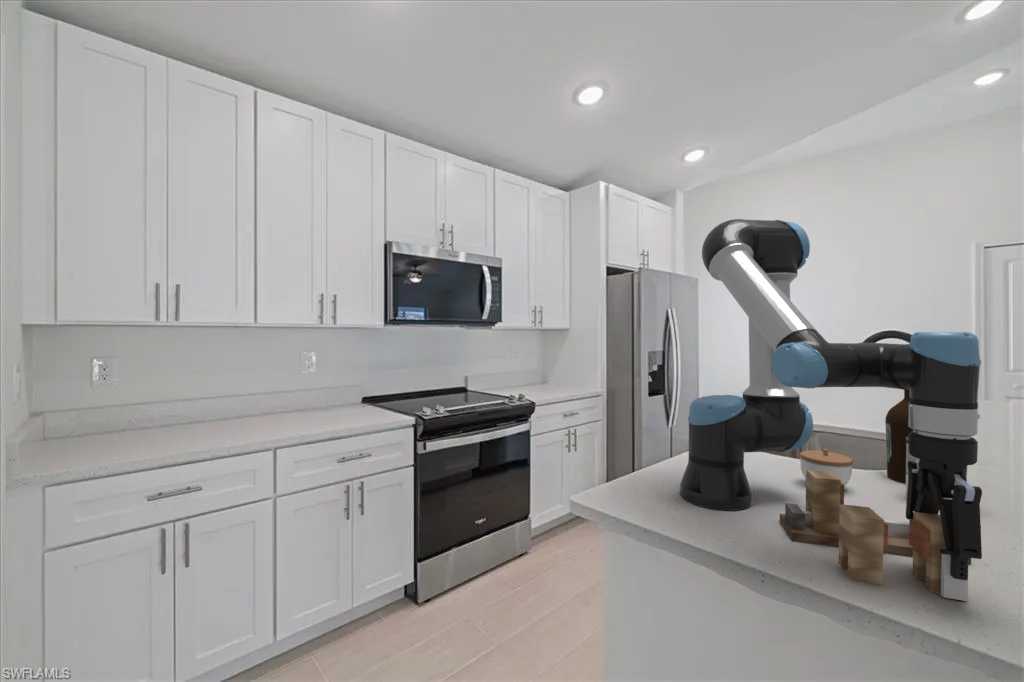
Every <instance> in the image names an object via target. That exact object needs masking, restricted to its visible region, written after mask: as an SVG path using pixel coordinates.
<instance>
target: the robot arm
mask: <svg viewBox="0 0 1024 682" xmlns="http://www.w3.org/2000/svg"><path fill="white" fill-rule="evenodd" d="M810 243H811V242H810V239H809V236H808V234H807V232H806V230H805V228H803V227H802V226H800V225H799V224H798V223H795V222H791V221H785V220H781V219H775V220H769V219H767V220H765V219H763V220H761V219H760V220H759V219H742V218H735V219H730V220H726V221H723V222H721V223H719V224H717V225H716V226H715V227H714V228H713V229H711V230H710V231H709V233H708V234H707V235H706V236H705V239H704V241H703V243H702V248H701V258H702V262H703V265H704V266H705V267H704V268H705V269H706V271H707V272H708V273H709V275H710V276H711V277H712V278H713V279H714V280H716V281H719V282H721V283H723V285H724V286H725V288H726V289H727V290H728V292H729V293H730V294H731V296H732V298H734V299H735V301H736V302H737V303H738V305H739V306H740V308H741V309H742V310H743V312H744V313H745V314H746V315H747V317H748V357H749V358H748V364H749V365H748V367H749V374H748V375H749V386H748V387H747V388H746V389H744V391H743V392H742V396H739V395H732V394H723V395H719V394H713V395H705V396H701V397H698V398H695V399H694V400H693V401H692V402H691V403H690V405H689V411H688V418H687V420H688V460H687V461H688V462H687V466H686V468H685V471H684V472H683V476H682V478H681V481H680V485H679V495H680V496H681V497H682V498H683V499H684V500H685V501H688V502H690V503H691V504H695V505H697V506H700V507H705V508H709V509H714V510H721V511H724V510H725V511H739V510H740V511H741V510H745V509H748V508H750V507H751V506H752V504H753V492H752V490H751V486H750V483H749V480H748V476H747V473H746V471H745V467H744V466H745V465H744V463H745V457H744V456H745V453H765V452H766V453H768V452H769V453H770V452H776V453H785V452H788V451H790V452H791V451H796V450H799V449H801V448H803V446H804V445H806V444H808V442H809V440H810V439H811V437H812V433H813V430H814V419H813V415H812V413H811V412H809V410H810V409H809V407H808V406H807V405H806V404H804V403H803V402H801V401H800V400H801V398H800V397H801V396H800V393H799V392H797V391H796V389H794V388H800V389H815V388H816V389H817V388H888V389H896V390H903V391H904V390H909V398H910V401H909V423H908V426H909V427H910V428H911V429H913V431H911V432H910V433H909V446H908V451H909V454H910V455H911V456H913V457H915V458H918V459H920V460H919V462H918V461H908V473H909V477H908V490H907V499H906V506H905V518H906V520H908V521H909V520H910V519H914V512H919V513H929V514H938V515H940V516H941V522H942V528H943V534H944V540H945V546H946V550H943V549H940V551H941V553H942V560H941V594H940V595H941V597H942V598H945V599H950V600H952V599H953V600H956V601H957V600H959V601H966V602H968V600H969V599H968V595H969V594H968V592H969V591H968V590H969V564H968V560H969V558H971V559H975V560H976V559H977V560H982V557H983V553H982V549H983V548H982V531H981V529H982V528H981V527H982V526H981V506H980V505H981V499H982V495H983V490H982V488H981V487H980V486H976V485H975V486H974V485H970V484H969V483H968V479H967V478H968V477H967V478H966V475H965V470H964V468H965V467H966V466H967V467H968V466H973V465H975V464H977V462H978V448H979V447H978V445H979V444H978V443H979V442H978V441H977V439H976V438H974V436H976V435H978V423H979V422H978V420H979V419H980V418H981V415H980V413H979V411H978V410H979V402H978V398H979V397H978V396H979V393H978V392H979V381H980V371H981V370H980V369H981V364H982V360H981V358H980V346H979V345H980V343H979V338H978V337H977V335H975V334H974V333H972V332H966V331H918V332H914V333H913V334H911V337H910V342H909V343H907V344H906V343H905V344H902V343H888V342H887V343H886V342H885V343H883V342H882V343H880V342H865V341H864V342H855V343H852V342H851V343H848V342H847V343H843V342H839V343H838V342H828V341H827V340H826V339H825V338H824V337H823V336H822V334H821V333H819V331H818V330H817V329H816V328H815V327H814V326H813V325H812V323H811V322H810V321H809V320H808V319H807V318H806V317H805V316H804V315H803V313H802V312H801V311H800V310H799V308H798V307H796V305H795V304H794V303H793V302H792V301H791V283H792V282H793V281H794V280H796V279H797V277H798V270H799V269H801V268H803V267H804V266H805V264H806V262H807V260H806V259H809V256H810V250H811V249H810V248H811V245H810ZM943 498H951V499H952V500H951V499H943Z"/></svg>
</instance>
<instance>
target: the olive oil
mask: <svg viewBox="0 0 1024 682" xmlns="http://www.w3.org/2000/svg"><path fill="white" fill-rule="evenodd" d="M903 393H904V394H903V399H902V400H900V401H899V402H898V403H896V404H895V405H893V406H892V407H891V408H890V409H889V410H888V411H887V413H886V415H885V419H884V420H885V435H886V436H885V442H886V474H887V478H888V479H890V480H892V481H894V482H898V483H901V484H906V437H909V433H910V432H911V431H913V429H911V428H910V427H909V426H908V423H909V401H910V398H909V390H903Z"/></svg>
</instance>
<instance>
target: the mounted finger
mask: <svg viewBox="0 0 1024 682" xmlns="http://www.w3.org/2000/svg"><path fill="white" fill-rule="evenodd" d="M840 504H844V505H845V486H844V484H843V483H841V480H840V479H839V478H837V477H836V476H835V475H834V474H832V473H831V472H828V471H817V470H806V479H805V510H804V511H810V512H812V529H813V531H816V532H824V533H832V534H839V516H840Z"/></svg>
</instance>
